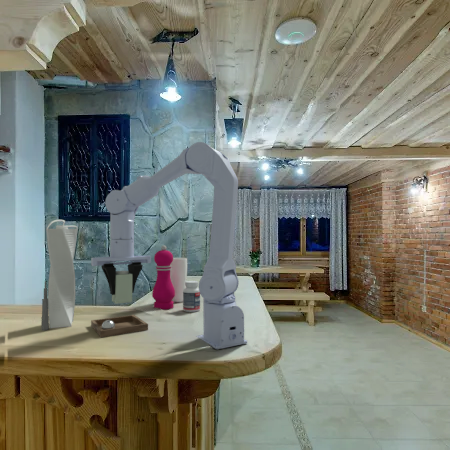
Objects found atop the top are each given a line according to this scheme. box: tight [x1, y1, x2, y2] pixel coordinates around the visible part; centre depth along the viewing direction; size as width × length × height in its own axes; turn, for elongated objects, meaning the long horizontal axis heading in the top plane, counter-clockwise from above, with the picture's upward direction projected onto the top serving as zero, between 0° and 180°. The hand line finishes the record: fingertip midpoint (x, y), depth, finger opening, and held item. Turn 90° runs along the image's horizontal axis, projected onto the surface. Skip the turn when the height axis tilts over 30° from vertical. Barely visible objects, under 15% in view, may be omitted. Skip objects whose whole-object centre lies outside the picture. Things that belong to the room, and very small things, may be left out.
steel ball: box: [102, 320, 115, 330], centre depth 82 cm, size 3×3×3 cm
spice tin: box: [111, 270, 133, 305], centre depth 87 cm, size 4×4×8 cm
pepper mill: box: [151, 244, 175, 311], centre depth 111 cm, size 7×7×20 cm
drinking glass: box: [170, 257, 188, 303], centre depth 121 cm, size 7×7×15 cm
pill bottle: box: [182, 280, 201, 313], centre depth 108 cm, size 5×5×9 cm
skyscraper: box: [40, 219, 79, 331], centre depth 89 cm, size 8×8×28 cm
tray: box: [90, 314, 149, 338], centre depth 86 cm, size 11×11×2 cm
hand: (122, 293), depth 87 cm, fingers closed on spice tin, 4 cm apart
